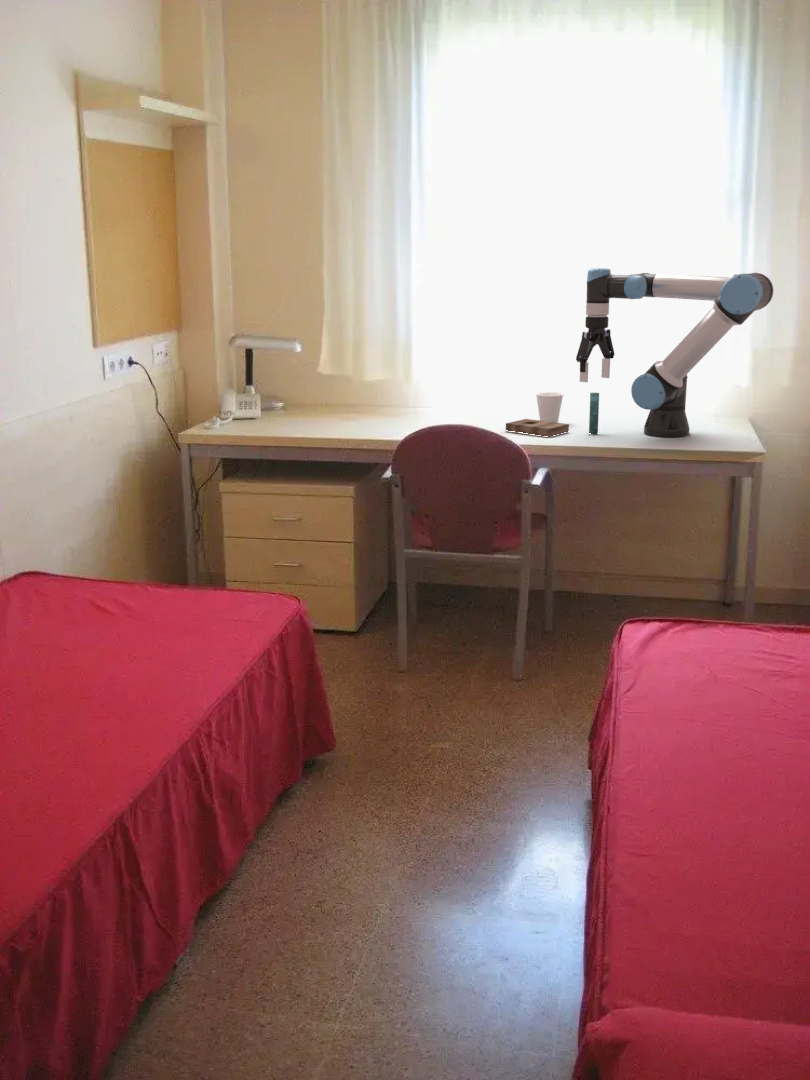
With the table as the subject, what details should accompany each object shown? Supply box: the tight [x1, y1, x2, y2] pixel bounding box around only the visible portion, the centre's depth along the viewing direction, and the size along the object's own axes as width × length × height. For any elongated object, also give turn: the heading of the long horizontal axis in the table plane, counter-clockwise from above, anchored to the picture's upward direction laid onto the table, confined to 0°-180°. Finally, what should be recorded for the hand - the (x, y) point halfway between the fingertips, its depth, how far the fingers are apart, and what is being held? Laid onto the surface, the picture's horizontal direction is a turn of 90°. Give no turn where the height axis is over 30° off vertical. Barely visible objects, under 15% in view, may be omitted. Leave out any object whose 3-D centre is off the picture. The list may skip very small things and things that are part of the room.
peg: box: [588, 392, 600, 435], centre depth 391 cm, size 3×3×14 cm
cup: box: [535, 391, 564, 423], centre depth 411 cm, size 10×10×11 cm
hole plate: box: [505, 418, 570, 438], centre depth 397 cm, size 18×12×3 cm, turn 49°
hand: (594, 379), depth 388 cm, fingers open, 13 cm apart
